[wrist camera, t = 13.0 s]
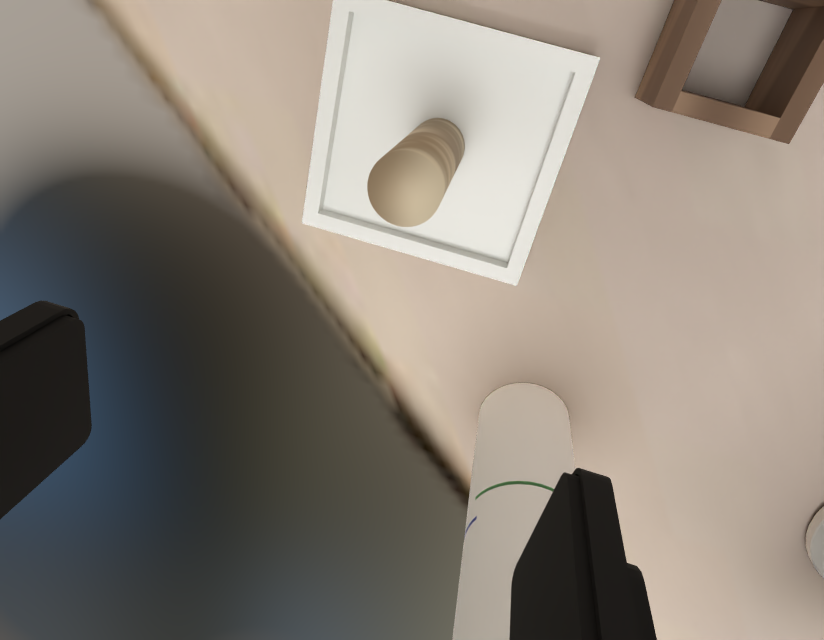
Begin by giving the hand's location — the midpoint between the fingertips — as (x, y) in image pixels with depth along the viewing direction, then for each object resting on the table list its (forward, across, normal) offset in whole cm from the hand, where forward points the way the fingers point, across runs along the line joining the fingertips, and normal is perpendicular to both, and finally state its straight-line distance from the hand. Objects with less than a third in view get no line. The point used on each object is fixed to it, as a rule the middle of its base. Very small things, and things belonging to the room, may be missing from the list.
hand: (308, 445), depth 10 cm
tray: (+29, +2, -1) cm, 29 cm away
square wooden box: (+29, -12, -10) cm, 33 cm away
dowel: (+27, +2, -1) cm, 27 cm away
